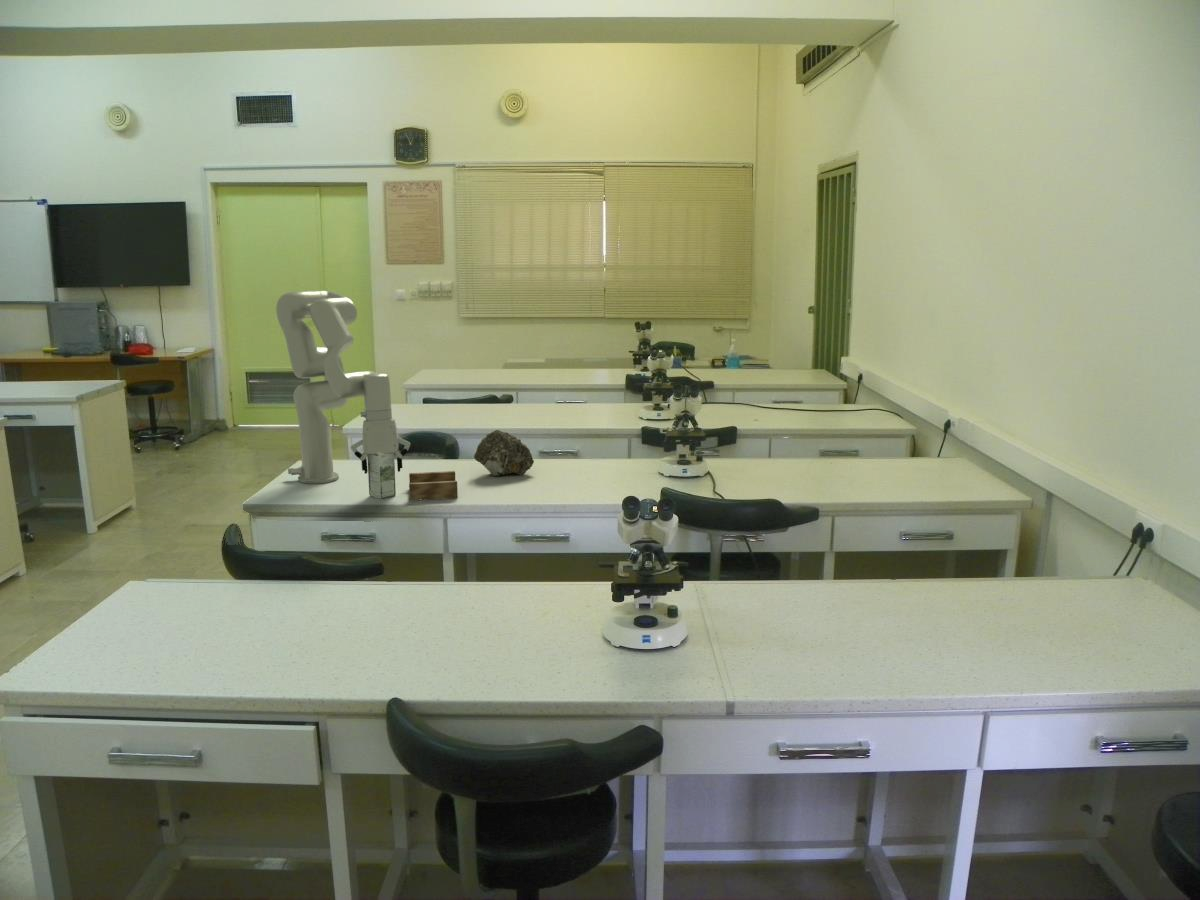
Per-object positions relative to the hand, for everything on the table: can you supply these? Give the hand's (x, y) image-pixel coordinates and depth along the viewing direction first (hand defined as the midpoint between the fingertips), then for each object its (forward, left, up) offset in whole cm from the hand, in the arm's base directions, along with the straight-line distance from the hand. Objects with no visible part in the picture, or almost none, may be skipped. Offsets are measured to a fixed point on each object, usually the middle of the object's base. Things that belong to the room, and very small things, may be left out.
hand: (382, 471), depth 272 cm
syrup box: (0, 0, -8) cm, 8 cm away
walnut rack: (+15, 0, -8) cm, 17 cm away
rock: (+40, +23, -8) cm, 46 cm away
